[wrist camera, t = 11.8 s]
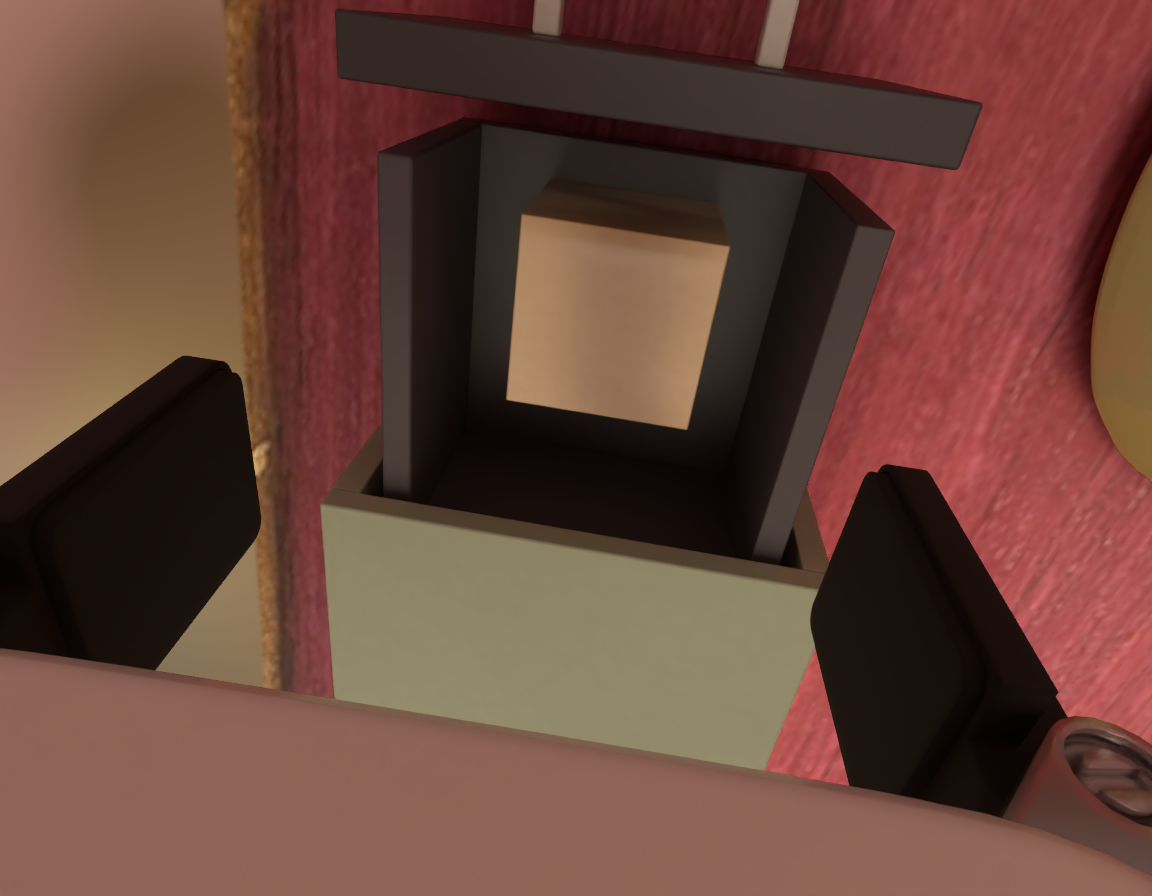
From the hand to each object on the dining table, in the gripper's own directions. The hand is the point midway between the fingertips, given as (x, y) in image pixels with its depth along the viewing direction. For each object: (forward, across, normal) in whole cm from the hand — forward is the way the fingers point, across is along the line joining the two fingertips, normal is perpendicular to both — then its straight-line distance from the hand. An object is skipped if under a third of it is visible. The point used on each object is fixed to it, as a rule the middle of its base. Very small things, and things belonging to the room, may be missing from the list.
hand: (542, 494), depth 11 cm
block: (+13, -1, +1) cm, 13 cm away
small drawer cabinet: (+15, -1, +13) cm, 20 cm away
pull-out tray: (+14, -1, -1) cm, 14 cm away
